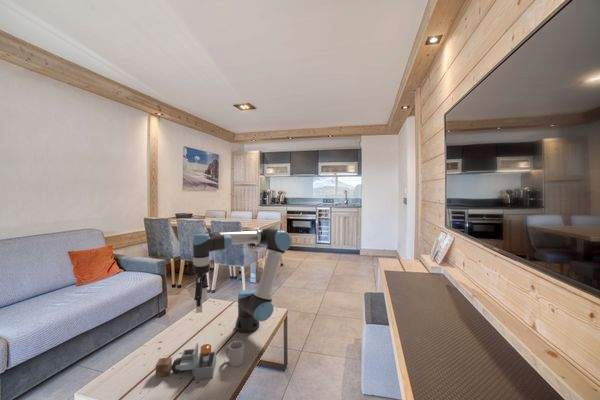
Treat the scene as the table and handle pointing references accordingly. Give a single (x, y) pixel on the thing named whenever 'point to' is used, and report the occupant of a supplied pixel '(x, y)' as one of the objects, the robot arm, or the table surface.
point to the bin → (205, 371)
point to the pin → (205, 354)
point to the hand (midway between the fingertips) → (201, 306)
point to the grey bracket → (186, 361)
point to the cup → (235, 353)
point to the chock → (163, 367)
